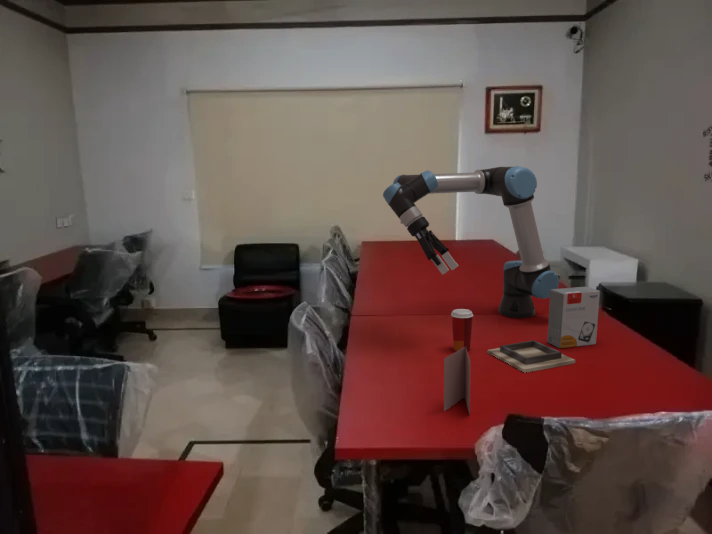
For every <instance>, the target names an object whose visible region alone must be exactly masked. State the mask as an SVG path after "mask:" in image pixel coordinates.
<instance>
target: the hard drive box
mask: <svg viewBox="0 0 712 534" xmlns="http://www.w3.org/2000/svg"><path fill="white" fill-rule="evenodd" d="M600 296H601V291H600V290H598V289H596V288H592V287H589V286H577V287H575V286H574V287H565V288H557V289H551V290H550V297H549V305H548V326H547V338H546V339H547V340H546V341H547V343H548V344H550V345H552V346H554V347H556V348H558V349H564V348H566V349H568V348H572V347H573V348H574V347H583V346H591V345H597V337H598V336H597V333H598V324H599V323H598V321H599V320H598V319H599V310H600V308H599V307H600V298H601V297H600Z"/></svg>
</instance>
